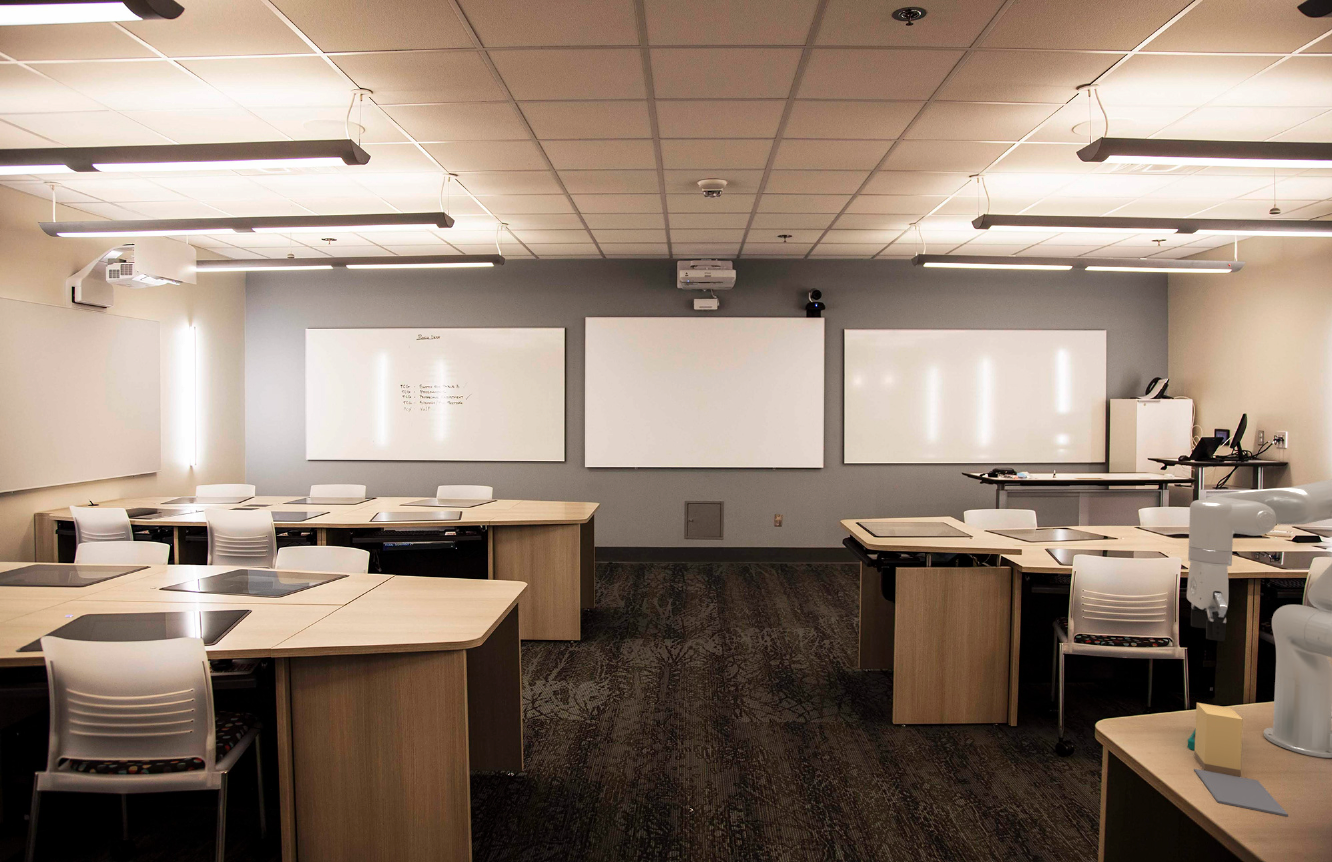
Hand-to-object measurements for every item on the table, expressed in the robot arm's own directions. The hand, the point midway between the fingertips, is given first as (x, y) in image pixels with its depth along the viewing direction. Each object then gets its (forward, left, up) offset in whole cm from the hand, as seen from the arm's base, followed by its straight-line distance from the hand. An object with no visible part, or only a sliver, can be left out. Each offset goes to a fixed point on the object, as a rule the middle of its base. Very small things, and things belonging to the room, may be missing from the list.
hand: (1207, 633), depth 149 cm
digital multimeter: (-3, -4, -27) cm, 27 cm away
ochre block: (0, +8, -26) cm, 27 cm away
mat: (0, +19, -26) cm, 32 cm away
